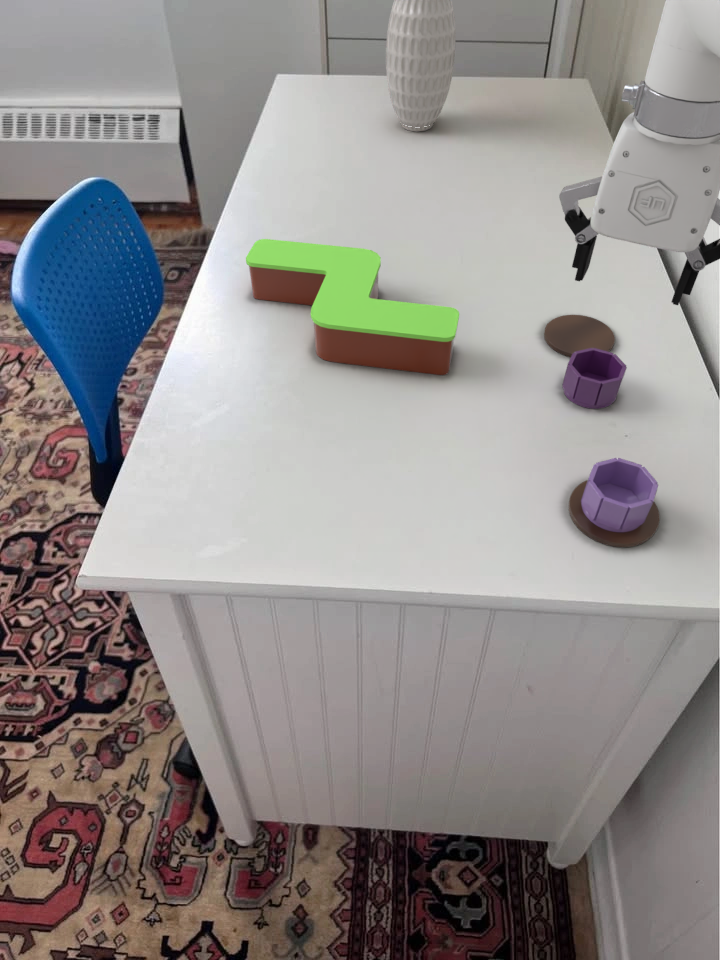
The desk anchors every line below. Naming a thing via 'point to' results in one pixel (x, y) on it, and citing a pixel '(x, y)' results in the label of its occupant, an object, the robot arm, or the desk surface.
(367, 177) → the desk surface
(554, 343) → the coaster far
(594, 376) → the dish plum
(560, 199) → the robot arm
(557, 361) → the desk surface
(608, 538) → the coaster near
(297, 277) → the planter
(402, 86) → the vase
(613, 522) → the dish lilac
